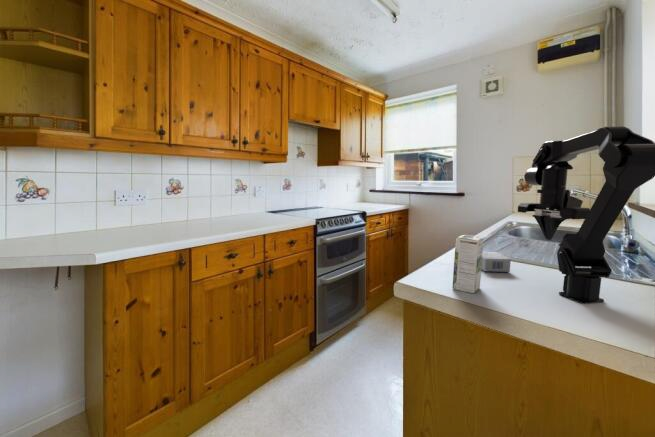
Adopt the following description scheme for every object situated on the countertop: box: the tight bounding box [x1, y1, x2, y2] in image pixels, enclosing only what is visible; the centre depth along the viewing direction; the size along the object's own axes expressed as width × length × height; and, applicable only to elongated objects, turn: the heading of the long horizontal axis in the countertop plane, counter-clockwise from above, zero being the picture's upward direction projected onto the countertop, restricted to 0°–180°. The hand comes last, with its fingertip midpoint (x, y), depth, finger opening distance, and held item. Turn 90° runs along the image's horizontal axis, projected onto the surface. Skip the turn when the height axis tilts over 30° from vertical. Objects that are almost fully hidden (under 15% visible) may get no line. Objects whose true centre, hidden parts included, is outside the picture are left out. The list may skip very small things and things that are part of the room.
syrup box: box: [452, 234, 485, 294], centre depth 82 cm, size 6×6×14 cm
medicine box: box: [481, 251, 512, 273], centre depth 101 cm, size 8×4×9 cm
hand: (548, 239), depth 89 cm, fingers closed
